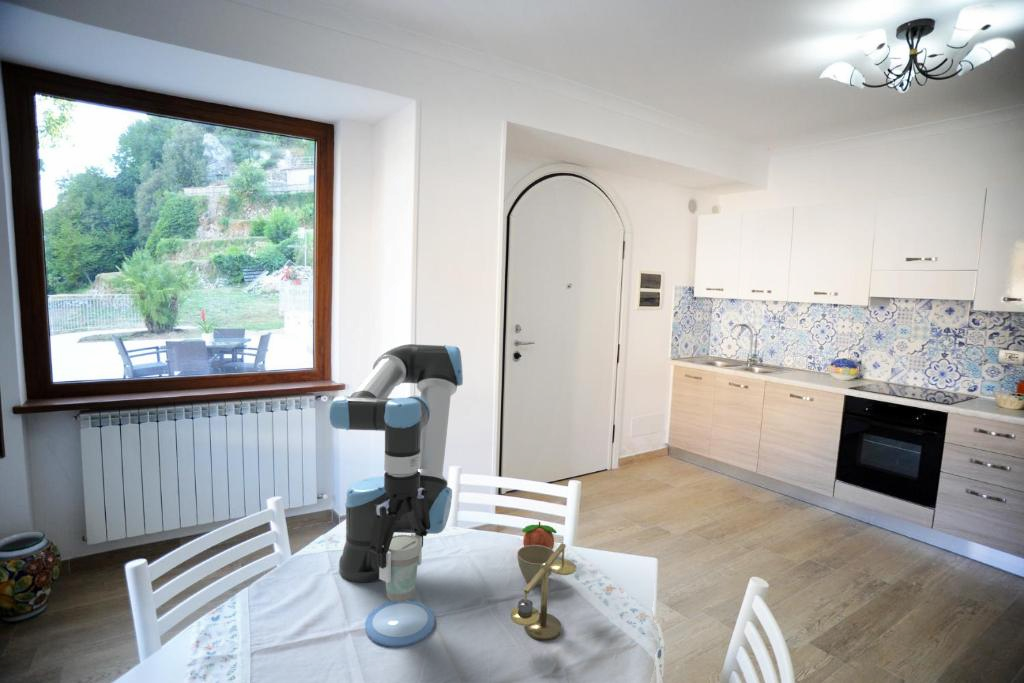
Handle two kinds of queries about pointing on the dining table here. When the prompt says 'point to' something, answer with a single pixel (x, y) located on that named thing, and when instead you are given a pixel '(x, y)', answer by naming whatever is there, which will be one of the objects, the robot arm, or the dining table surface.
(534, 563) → the flower pot
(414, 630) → the dish
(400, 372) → the robot arm
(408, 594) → the coffee cup
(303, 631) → the dining table surface
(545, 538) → the fruit
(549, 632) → the balance
